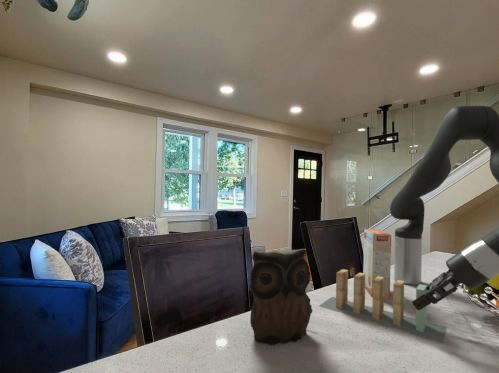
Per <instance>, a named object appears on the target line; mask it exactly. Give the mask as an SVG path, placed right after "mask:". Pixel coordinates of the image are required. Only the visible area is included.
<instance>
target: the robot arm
mask: <svg viewBox="0 0 499 373" xmlns="http://www.w3.org/2000/svg"><path fill="white" fill-rule="evenodd" d="M470 140H471V141H473V140H475V141H476V140H479V141H480V142H482V143H483V144H484V145H486V146H487V148H489V152H490V157H489V169H490V172H491V175H492V176H493V178H494V179H495V180H496V182H497V183H498V184H499V113H498V112H497V111H496V109H494V108H493V107H491V106H487V105H460V106H459V105H458V106H455V107H453V108H451V109H450V110H449V111H448V112H447V113H446V115H445V116H444V118H443V120H442V121H441V123H440V125H439V127H438V129H437V132H436V134H435V136H434V138H433V140H432V142H431V143H430V146H429V147H428V148H427V150H426V151H425V154H424V155H423V157H422V159H421V160H420V161H419V162H418V164H417V165H416V167H415V169H414V170H413V172H412V174H411V175H410V176H409V179H408V180H407V181H406V183H405V184H404V186H403V187H402V188H400V190H399V191H398V192H397V194H396V195H395V196H394V197H393V199H392V200H391V203H390V206H389V211H390V212H389V213H390V214H391V217H393V218H394V219H396V220H405V221H407V223H406V224H405V225H403V226H400V227H398V228H396V229H395V231H394V272H393V273H394V275H393V276H394V281H395V282H396V281H397V280H401V281H404V285H405V284H406V285H412V286H413V285H415V286H416V285H417V286H418V285H419V284H422V268H423V267H422V263H423V262H422V255H423V252H422V250H423V246H422V245H423V244H422V243H423V242H422V240H423V237H422V236H423V233H424V226H425V225H424V223H425V222H424V221H425V203H424V201H423V199H422V198H421V197H424V196H426V195H428V194H429V193H432V192H434V191H435V190H437V189H438V188H439V187H441V185H442V184H443V183H444V181H445V180H446V179H447V178H448V177H449V176H450V173H451V170H452V162H451V159H450V152H451V151H452V149H453V147H454V146H455V145H456V144H457V143H458V142H459V141H470ZM445 265H446V266H447V269H448V270H447V271H443V272H442V273H440V274H439V275H438V276H437V277H435V278H434V279H432V281H430V282H429V284H428V285H427V292H425V293H424V294H423V295H421V296H420V297H418V298H417V299H416V298H415V299H414V300H412V301H411V305H412V306H413V307H414V309H415V310H416V309H417V310H421V309H423V308H424V307H426V308H427V306H429V305H431V304H433V305H435V304H436V305H437V304H438V302H440V301H443V299H445V298H446V297H449V296H450V295H451V294H453V293H456V292H457V291H458V289H459V285H460V284H463V285H465V287H466V288H469V289H471V290H476V289H477V288H479V287H480V286H482V285H484V284H485V283H487V282H489V281H490V280H492V279H494V278H495V277H497V276H499V227H496V228H495V229H494V230H492V231H490V232H489V233H488V234H486V235H485V236H483V237H482V238H481V239H479V240H476V241H474V242H472V243H471V244H470V245H468V246H466V247H465V248H463V249H462V250H460V251H459V252H457V253H456V254H454V255H453V256H451V257H450V258H449V259H447V260H446V261H445ZM434 295H436V296H434Z"/></svg>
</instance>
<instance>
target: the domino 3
mask: <svg viewBox="0 0 499 373" xmlns="http://www.w3.org/2000/svg"><path fill="white" fill-rule="evenodd" d="M384 303H385V299H384V277H380V276H377V277H376V278H375V279H374V280H373V297H372V305H371V307H372V318H375V319H378V320H379V319H380V317H381V316H382V315H383V314H384V311H385V310H384V306H385V304H384Z"/></svg>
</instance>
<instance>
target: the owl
mask: <svg viewBox="0 0 499 373" xmlns="http://www.w3.org/2000/svg"><path fill="white" fill-rule="evenodd" d="M306 252H307V250H306V249H305V248H303V249H302V248H301V249H281V250H279V249H278V250H271V251H260V252H259V251H256V250H255V251H253V253H252V258H251V259H252V262H253V266H252V269H251V271H250V277H249V278H250V280H249V281H250V284H249V287H250V290H251V292H252V295H253V303H252V307H251V311H250V317H249V318H250V321H249V322H250V326H251V329H252V331H253V333H254V334H253V338H254V341H255V342H256V343H260V344H263V345H267V346H268V345H269V346H276V345H278V344H283V345H284V344H285V343H286V344H288V343H290V342H294V343H297V342H298V341H300V340H301V339H302V338H303V337H304V336H305V335H306V334H307V329H308V326H309V323H310V320H311V315H312V314H313V308H312V305H311V298H310V297H309V296H308V294H307V292H306V290H307V287H308V286H309V284H310V282H311V280H310V279H311V272H310V267H309V264H308V262H307V260H306V258H305V255H306ZM286 344H285V345H286Z"/></svg>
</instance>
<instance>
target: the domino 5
mask: <svg viewBox="0 0 499 373" xmlns="http://www.w3.org/2000/svg"><path fill="white" fill-rule="evenodd" d="M427 286H428V285H427V284H426V285H425V284H422V283H421V284H419V285H417V287H416V289H415V292H416V293H415V299H417V298H418V297H420V296H421V295H423V294H424V293H425V292H427ZM415 319H416V330H417V331H421V332H424V330H425V327H426V322H427V306H426V307H424V308H423V309H421V310H417V309H416V308H415Z"/></svg>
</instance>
